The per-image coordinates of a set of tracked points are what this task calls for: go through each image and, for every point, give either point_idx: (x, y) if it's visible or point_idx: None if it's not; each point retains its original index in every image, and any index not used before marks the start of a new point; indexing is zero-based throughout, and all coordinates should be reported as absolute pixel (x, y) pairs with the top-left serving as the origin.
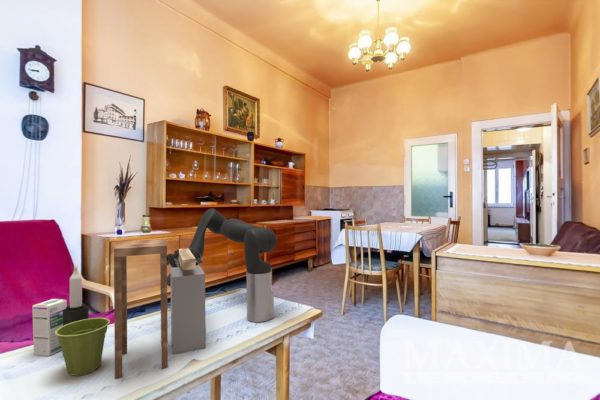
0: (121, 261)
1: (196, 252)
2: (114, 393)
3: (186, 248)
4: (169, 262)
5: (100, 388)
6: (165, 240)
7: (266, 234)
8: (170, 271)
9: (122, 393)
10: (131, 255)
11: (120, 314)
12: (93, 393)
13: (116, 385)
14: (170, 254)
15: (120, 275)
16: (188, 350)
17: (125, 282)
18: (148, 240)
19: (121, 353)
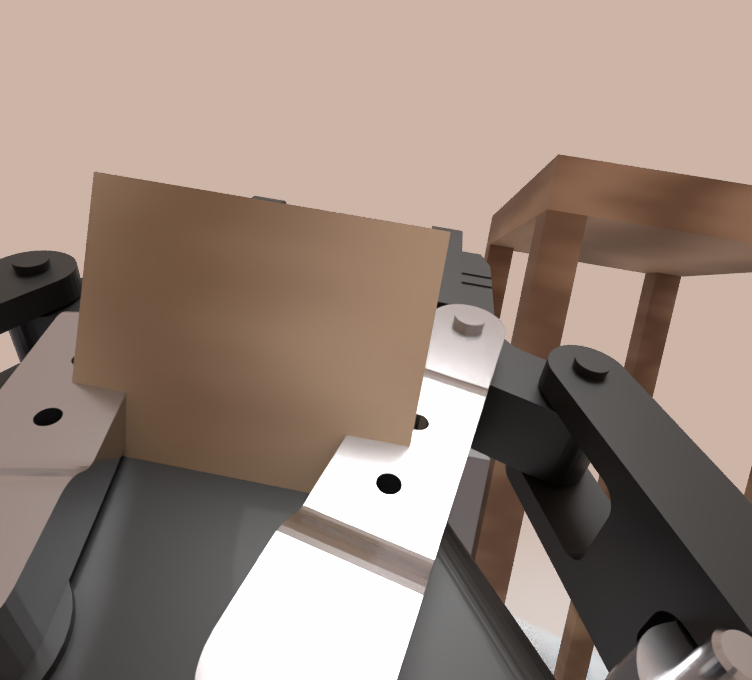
0: (649, 295)
1: (65, 266)
2: (539, 631)
3: (155, 182)
4: (566, 548)
5: (593, 671)
6: (539, 174)
7: None
8: (481, 500)
9: (517, 621)
10: (610, 266)
11: (600, 481)
12: (600, 659)
13: (549, 659)
14: (570, 357)
15: (631, 343)
16: None
17: (749, 493)
18: (679, 178)
19: (569, 612)
